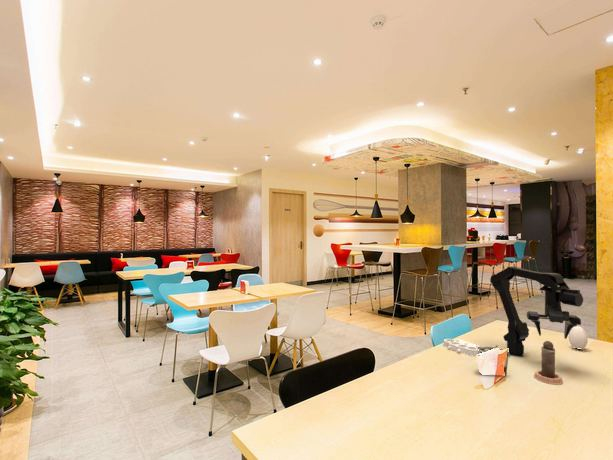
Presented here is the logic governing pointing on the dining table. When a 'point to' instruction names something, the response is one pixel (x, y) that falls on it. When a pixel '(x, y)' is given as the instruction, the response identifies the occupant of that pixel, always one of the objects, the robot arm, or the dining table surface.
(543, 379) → the dish
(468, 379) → the dining table surface
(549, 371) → the pepper mill
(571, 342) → the egg
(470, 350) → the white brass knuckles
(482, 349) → the food container
